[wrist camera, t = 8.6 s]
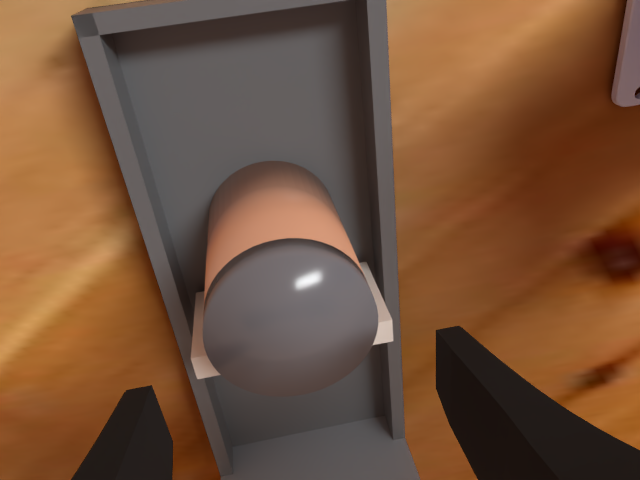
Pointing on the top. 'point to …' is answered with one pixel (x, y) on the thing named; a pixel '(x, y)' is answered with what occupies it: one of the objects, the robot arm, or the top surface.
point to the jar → (282, 284)
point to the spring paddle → (206, 369)
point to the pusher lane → (245, 149)
